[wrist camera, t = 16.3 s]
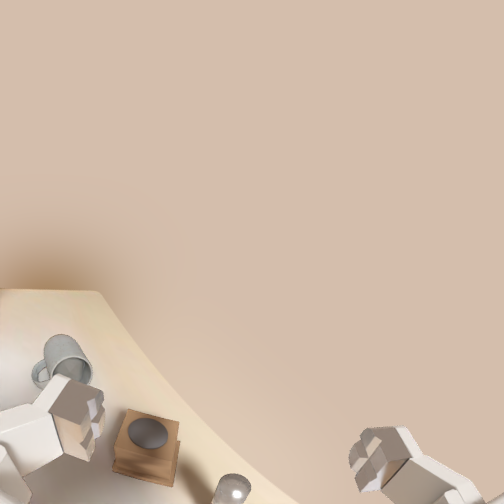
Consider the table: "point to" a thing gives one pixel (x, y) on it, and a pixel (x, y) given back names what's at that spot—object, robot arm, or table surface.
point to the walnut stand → (147, 448)
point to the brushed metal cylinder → (232, 490)
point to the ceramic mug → (63, 361)
